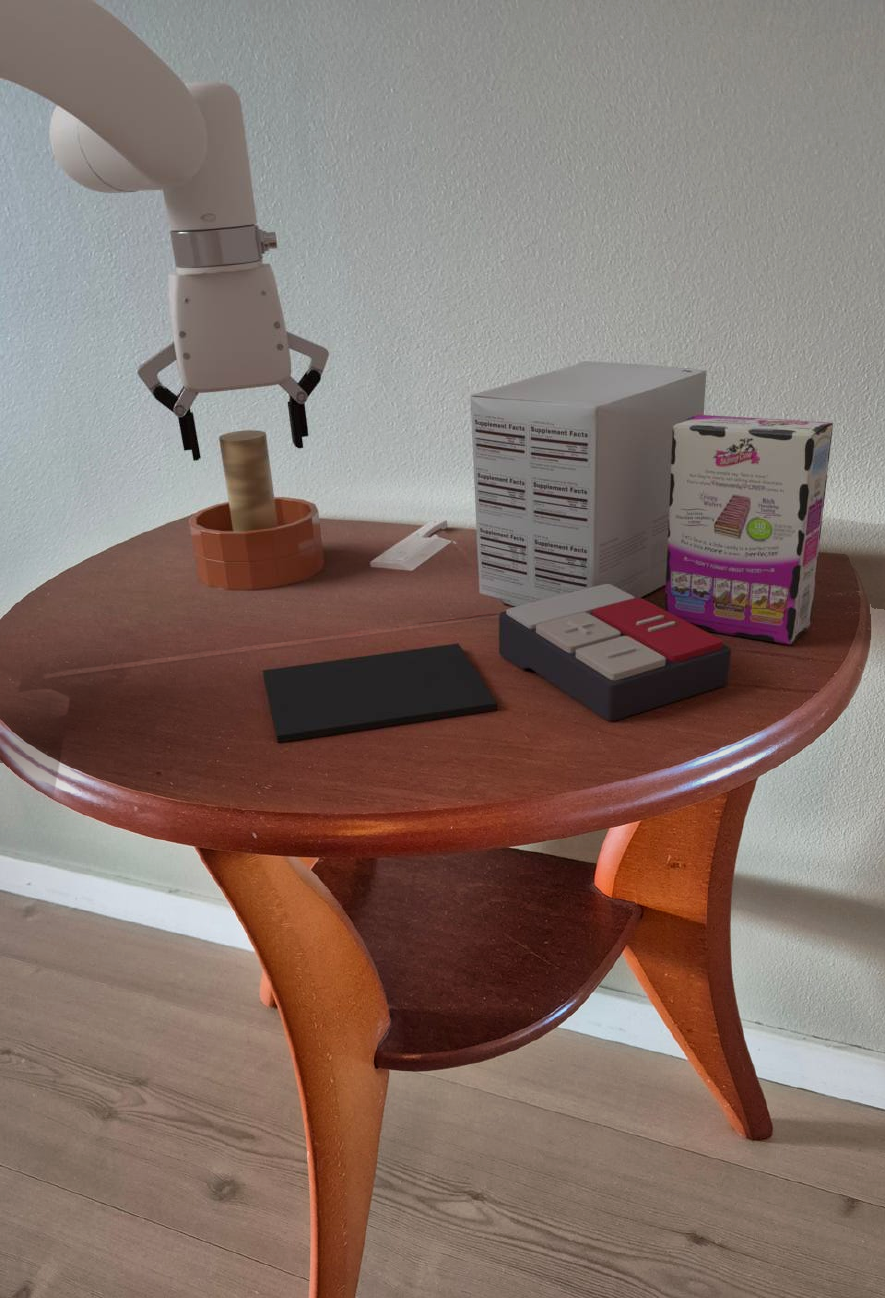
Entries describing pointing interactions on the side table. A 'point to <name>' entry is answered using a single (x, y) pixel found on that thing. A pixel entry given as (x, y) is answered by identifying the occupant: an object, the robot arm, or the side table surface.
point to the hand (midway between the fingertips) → (247, 451)
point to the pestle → (248, 480)
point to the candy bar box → (746, 524)
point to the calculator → (613, 650)
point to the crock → (257, 547)
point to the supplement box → (577, 478)
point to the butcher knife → (413, 548)
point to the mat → (374, 692)
